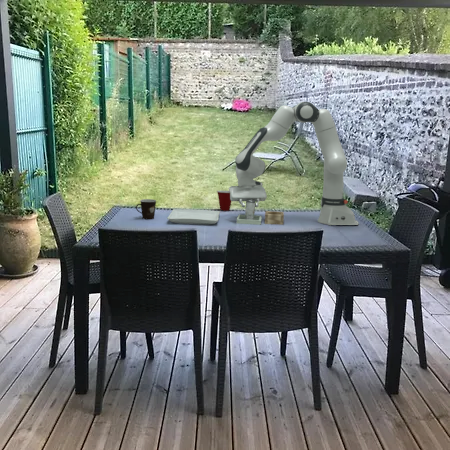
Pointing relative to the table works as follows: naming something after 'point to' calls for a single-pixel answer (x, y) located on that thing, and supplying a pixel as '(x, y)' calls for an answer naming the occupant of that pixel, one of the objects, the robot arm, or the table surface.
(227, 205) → the plastic cup
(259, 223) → the tray
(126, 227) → the table surface
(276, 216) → the holder
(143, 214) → the coffee mug
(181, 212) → the square plate
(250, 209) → the canister
